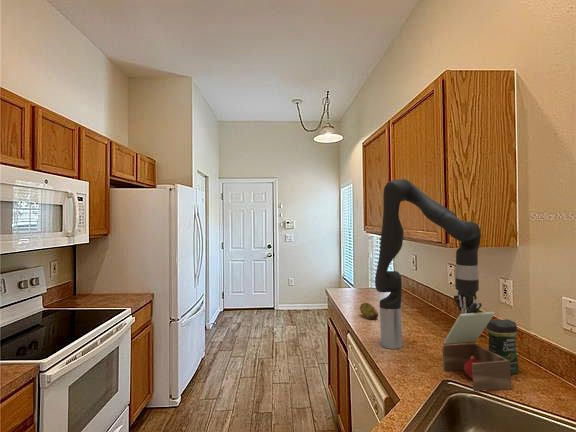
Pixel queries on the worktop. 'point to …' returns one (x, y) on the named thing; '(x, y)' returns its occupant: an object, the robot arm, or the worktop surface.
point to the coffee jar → (504, 341)
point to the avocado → (368, 311)
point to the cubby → (479, 366)
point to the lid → (468, 328)
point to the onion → (470, 366)
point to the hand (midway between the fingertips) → (467, 325)
